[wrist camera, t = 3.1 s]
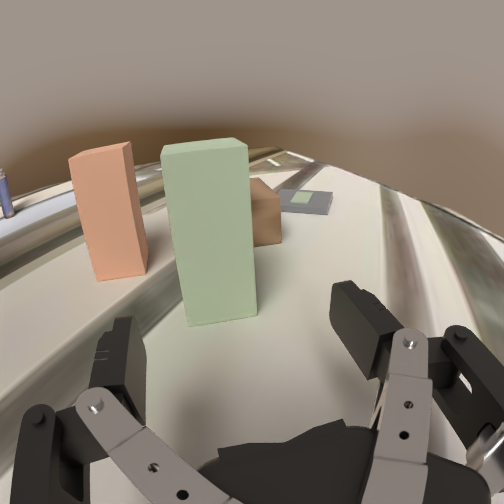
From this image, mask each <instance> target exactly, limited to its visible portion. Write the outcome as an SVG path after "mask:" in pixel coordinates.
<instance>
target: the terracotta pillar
mask: <svg viewBox="0 0 504 504" xmlns="http://www.w3.org/2000/svg"><path fill="white" fill-rule="evenodd" d="M68 161H69V166H70V172H71V178H72V183H73V188H74V193H75V198H76V202H77V207H78V211H79V216H80V220H81V224H82V228H83V232H84V236H85V240H86V244H87V247H88V251H89V255H90V258H91V262H92V265H93V269H94V272H95V275H96V278H97V282H98V281H105V280H112V279H119V278H125V277H132V276H139V275H146V269H147V262H148V255H149V250H148V245H147V240H146V235H145V230H144V224H143V219H142V213H141V208H140V202H139V196H138V190H137V183H136V177H135V170H134V163H133V156H132V149H131V142H125V143H120V144H115V145H110V146H105V147H100V148H95V149H90V150H86V151H83V152H81V153H79V154H77V155H75V156H73V157H71V158H69V159H68Z"/></svg>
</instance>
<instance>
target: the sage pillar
mask: <svg viewBox="0 0 504 504" xmlns="http://www.w3.org/2000/svg"><path fill="white" fill-rule="evenodd" d="M160 158H161V166H162V174H163V182H164V189H165V196H166V203H167V210H168V216H169V223H170V229H171V235H172V241H173V247H174V253H175V259H176V264H177V270H178V275H179V280H180V286H181V291H182V296H183V301H184V306H185V311H186V315H187V320H188V325H189V327H191V326H198V325H204V324H211V323H217V322H223V321H229V320H235V319H241V318H247V317H252V316H257V302H256V284H255V267H254V249H253V231H252V214H251V196H250V179H249V161H248V146H247V145H246V144H244V143H242V142H240V141H239V140H237V139H235V138H223V139H213V140H204V141H195V142H187V143H180V144H173V145H165V146H164V147H163V150H162V152H161V155H160Z"/></svg>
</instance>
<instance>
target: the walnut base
mask: <svg viewBox="0 0 504 504" xmlns="http://www.w3.org/2000/svg"><path fill="white" fill-rule="evenodd" d="M249 179H250V196H251V214H252V231H253V247H256V246H263V245H270V244H277V243H281V207H280V197H279V196H278V195H277V194H276V193H275V192H274V191H273V190H272V189H271V188H270V187H269V186H267V185H266V184H265V183H264V182H263V181H262V180H261V179H260V178H249Z"/></svg>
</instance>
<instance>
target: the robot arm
mask: <svg viewBox="0 0 504 504" xmlns="http://www.w3.org/2000/svg"><path fill="white" fill-rule="evenodd" d="M329 316H330V322H331V325H332V327H333V329H334V330H335V332H336V333H337V335H338V336H339V338H340V339H341V341H342V342H343V344H344V345H345V347H346V348H347V350H348V351H349V353H350V354H351V356H352V357H353V359H354V360H355V362H356V363H357V365H358V367H359V368H360V370H361V371H362V373H363V374H364V376H365V377H366V379H367V380H370V379H373V378H376V377H378V378H379V380H380V382H379V385H378V389H377V394H376V399H375V403H374V408H373V412H372V416H371V420H370V424H369V427H368V428H367V427H360V426H346V425H345V423H344V421H343V419H340V420H337V421H334V422H330V423H327V424H324V425H321V426H317V427H314V428H312V429H310V430H308V431H306V432H304V433H303V434H301V435H299V436H297V437H295V438H293V439H291V440H289V441H287V442H284V443H247V444H242V445H236V446H231V447H225V448H219V449H218V454H219V457H218V458H215V459H213V460H211V461H209V462H207V463H205V464H204V465H202V466H201V467H200V468H198V469H197V470H195V469H193V468H192V467H191V466H190V465H189V464H188V463H186V462H185V461H184V460H183V459H182V458H181V457H179V456H178V455H177V454H176V453H175V452H174V451H173V450H172V449H170V448H169V447H168V446H167V445H166V444H165V443H164V442H163V441H162V440H161V439H160V438H159V437H158V436H157V435H155V434H154V433H153V432H152V431H151V430H150V429H149V428H148V427H146V426H144V425H146V415H145V411H146V362H147V358H146V350H145V346H144V343H143V340H142V337H141V334H140V331H139V328H138V325H137V322H136V319H135V317H134V316H127V317H119V318H115V321H114V326H113V331H109V332H105V333H104V334H103V335H102V337H101V338H100V339H99V341H98V345H97V349H96V354H95V358H94V359H95V361H94V363H93V368H92V373H91V378H90V383H89V389H88V390H86V391H85V392H83V393H82V394H81V395H80V396H79V397H78V399H77V401H76V405H75V406H73V407H70V408H67V409H64V410H61V411H57V412H54V410H53V409H52V408H51V407H50V406H48V405H45V404H38V405H35V406H33V407H31V408H30V409H28V410H27V411H26V413H25V414H24V416H23V419H22V423H21V428H20V433H19V438H18V443H17V449H16V455H15V462H14V469H13V477H12V485H11V496H10V504H90V463H92V462H95V461H98V460H101V459H104V458H107V457H111V459H112V460H113V461H114V462H115V464H116V465H117V466H118V467H119V468H120V469H121V471H122V472H123V473H124V474H125V475H126V476H127V477H128V479H129V480H130V481H131V482H132V483H133V484H134V485H135V486H136V487H137V488H138V490H139V491H140V492H141V493H142V494H143V495H144V496H145V497H146V498H147V499H148V500H149V501H150V502H151V503H152V504H491V497H492V496H494V495H495V494H497V493H501V492H504V366H503V365H502V364H501V363H500V362H499V361H498V360H497V358H496V357H495V356H494V355H493V354H492V353H491V352H490V351H489V350H488V348H487V347H486V346H485V345H484V344H483V343H482V342H481V341H480V340H479V339H478V338H477V337H476V335H475V334H474V333H473V332H472V331H471V330H469V329H468V328H466V327H464V326H460V325H453V326H450V327H448V328H447V329H446V331H445V333H444V336H443V337H434V338H427V337H426V336H425V335H424V334H423V333H422V332H420V331H418V330H416V329H412V328H404V327H403V326H402V325H401V324H400V322H399V321H398V320H397V319H396V318H395V317H394V316H393V315H392V314H391V313H390V311H389V310H388V309H386V307H385V306H384V305H383V304H382V303H381V302H380V301H379V300H378V299H377V297H376V296H375V295H374V294H372V293H370V292H368V291H366V290H364V289H362V290H360V289H359V288H358V287H357V285H356V284H355V283H354V282H353V281H351V280H348V281H343V282H338V283H334V284H333V286H332V292H331V302H330V312H329ZM461 373H462V374H463V376H464V377H465V378H466V379H467V381H468V382H469V383H470V385H471V388H472V394H471V392H470V391H469V390H468V388H467V387H466V386H465V384H464V383H463V382H462V381H461V379H460V378H459V376H460V374H461ZM432 397H433V398H434V400H435V401H436V403H437V404H438V406H439V407H440V409H441V410H442V412H443V414H444V415H445V417H446V418H447V420H448V421H449V423H450V424H451V426H452V427H453V429H454V430H455V432H456V434H457V435H458V437H459V438H460V440H461V442H462V443H463V445H464V446H465V448H466V450H467V453H466V460H467V464H466V466H464V465H462V464H459V463H456V462H453V461H450V460H448V459H445V458H442V457H440V456H437V455H435V454H432V453H429V452H427V448H428V440H429V430H430V419H431V405H432ZM143 426H144V427H143Z"/></svg>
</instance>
